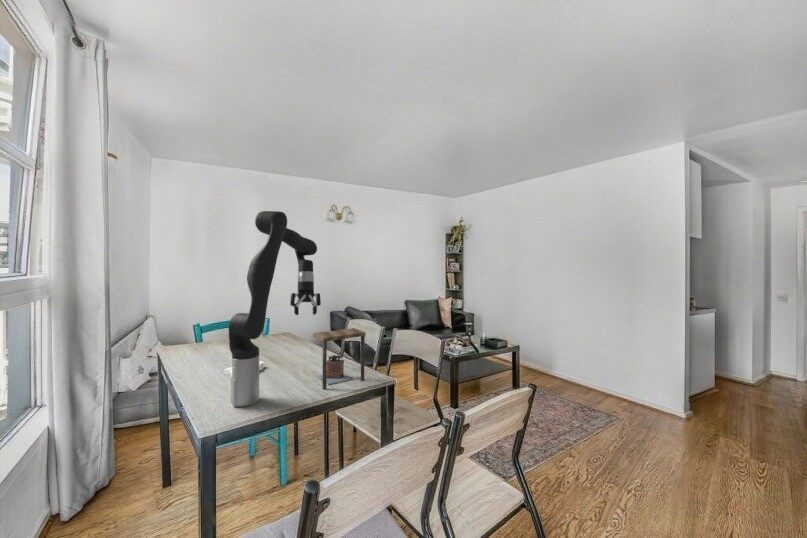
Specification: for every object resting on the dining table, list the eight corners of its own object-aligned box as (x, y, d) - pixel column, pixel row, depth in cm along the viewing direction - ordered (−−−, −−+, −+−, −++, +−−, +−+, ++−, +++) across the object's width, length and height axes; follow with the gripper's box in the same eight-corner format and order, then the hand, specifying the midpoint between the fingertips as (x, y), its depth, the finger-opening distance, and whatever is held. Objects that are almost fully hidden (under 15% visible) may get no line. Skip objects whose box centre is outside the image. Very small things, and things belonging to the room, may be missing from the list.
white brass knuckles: (246, 365, 170) (270, 369, 166) (217, 377, 153) (242, 381, 148) (246, 359, 170) (270, 362, 165) (217, 370, 153) (242, 373, 148)
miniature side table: (322, 390, 138) (323, 338, 137) (312, 382, 147) (312, 333, 146) (365, 380, 150) (365, 332, 149) (353, 373, 159) (353, 328, 158)
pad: (328, 385, 144) (328, 384, 144) (317, 377, 153) (317, 376, 153) (353, 379, 151) (353, 378, 151) (341, 372, 160) (341, 371, 160)
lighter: (325, 379, 149) (325, 356, 149) (325, 376, 153) (325, 354, 153) (344, 377, 151) (344, 355, 151) (343, 375, 155) (343, 353, 154)
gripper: (293, 280, 157) (293, 315, 155) (322, 281, 166) (322, 314, 163) (288, 281, 163) (288, 315, 161) (316, 282, 172) (316, 314, 169)
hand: (305, 314), depth 162 cm, fingers open, 8 cm apart
